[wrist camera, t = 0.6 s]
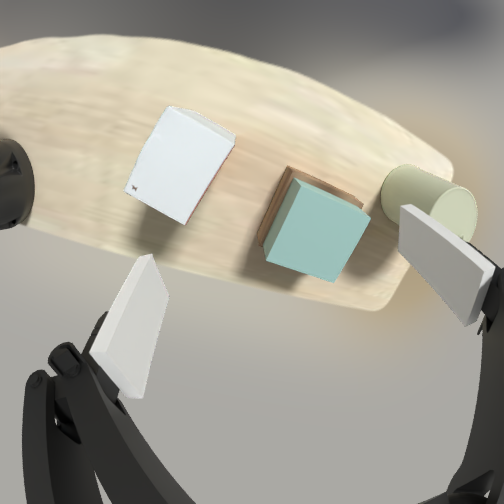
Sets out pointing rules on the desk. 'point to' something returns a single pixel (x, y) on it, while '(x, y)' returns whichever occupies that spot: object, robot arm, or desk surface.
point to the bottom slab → (282, 191)
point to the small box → (179, 162)
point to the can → (430, 199)
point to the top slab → (314, 231)
